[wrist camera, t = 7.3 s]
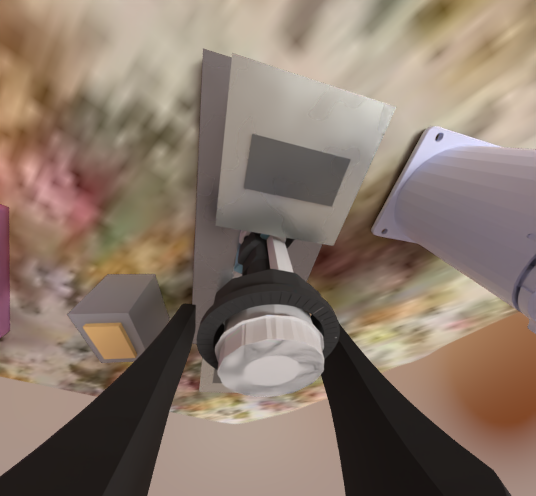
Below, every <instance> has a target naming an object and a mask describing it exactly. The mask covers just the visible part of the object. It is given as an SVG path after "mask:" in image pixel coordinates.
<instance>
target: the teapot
mask: <svg viewBox="0 0 536 496" xmlns="http://www.w3.org/2000/svg"><path fill="white" fill-rule="evenodd" d="M9 331H10V283H9V207H6V206H4V205H1V204H0V338H1V337H2V336H4V335H5V334H6V333H7V332H9Z"/></svg>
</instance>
